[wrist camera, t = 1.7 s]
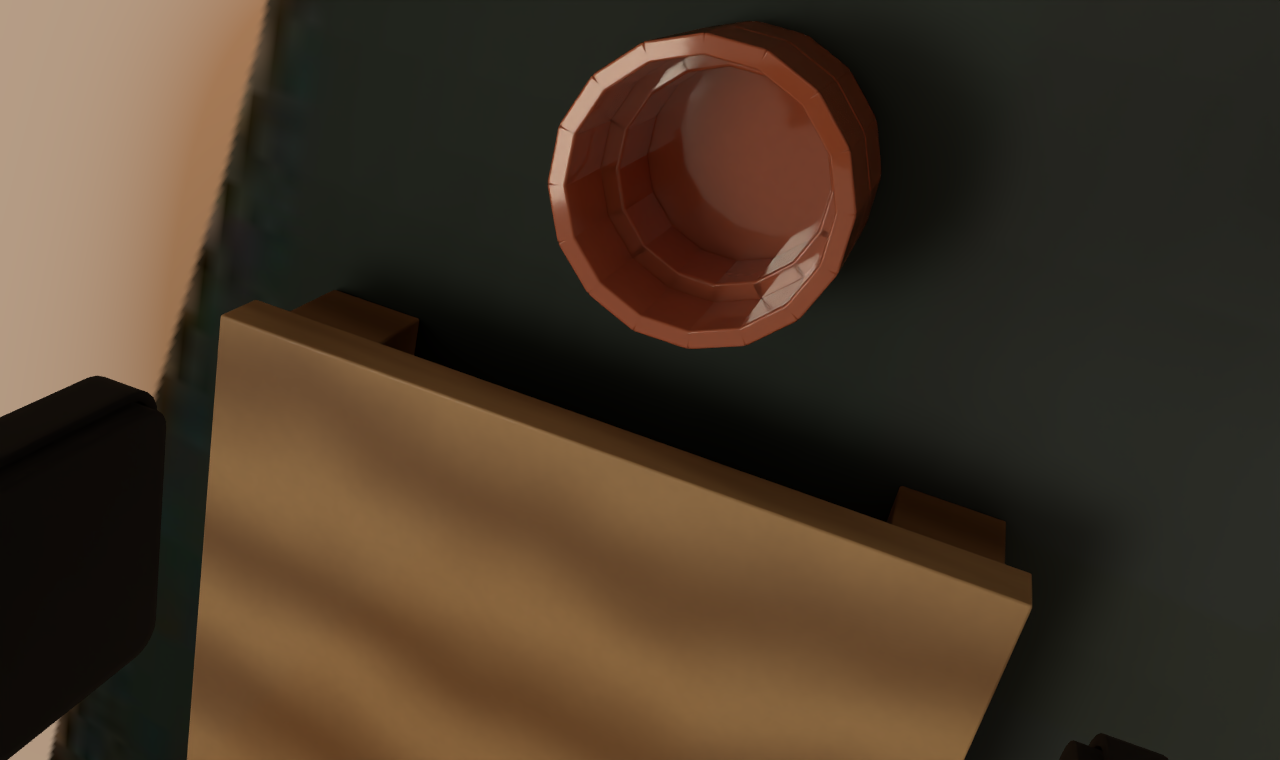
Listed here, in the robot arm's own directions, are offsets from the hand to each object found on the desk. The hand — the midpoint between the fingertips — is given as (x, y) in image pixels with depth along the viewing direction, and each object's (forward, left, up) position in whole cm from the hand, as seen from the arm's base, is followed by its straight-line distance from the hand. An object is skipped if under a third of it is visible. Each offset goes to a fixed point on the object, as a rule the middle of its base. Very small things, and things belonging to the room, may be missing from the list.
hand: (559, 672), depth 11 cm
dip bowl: (-1, -3, -21) cm, 21 cm away
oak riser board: (+14, -4, -21) cm, 25 cm away
